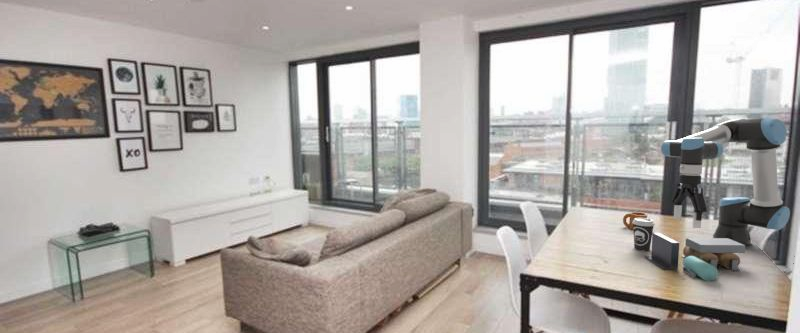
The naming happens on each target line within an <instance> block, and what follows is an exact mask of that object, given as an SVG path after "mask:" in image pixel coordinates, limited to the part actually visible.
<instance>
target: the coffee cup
mask: <svg viewBox="0 0 800 333" xmlns="http://www.w3.org/2000/svg"><path fill="white" fill-rule="evenodd" d="M632 223H633V229H634V230H633V229H632V230H633V246H634V249H635V250H637V251H639V252H640V251H641V252H649V251H650V250H651V246H652V233H654V232H653V231H654V227H655V225H656V224H655V221H654V220H653V219H651V218H648V217H647V218H634V220H633V222H632Z"/></svg>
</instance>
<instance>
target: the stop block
mask: <svg viewBox="0 0 800 333" xmlns="http://www.w3.org/2000/svg"><path fill="white" fill-rule="evenodd" d="M679 255H680V242H679V241H676V240H674V239H673V238H671V237H669V236H667V235H665V234H663V233H660V232H652V239H651V255H644V257H643V258H644V259H646V260H647V261H649V262H650V263H652V264H653V265H655V266H656V267H658V268H659V269H661V270H662V271H665V270H666V271H678V268H679V258H680V257H679Z"/></svg>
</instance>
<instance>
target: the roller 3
mask: <svg viewBox="0 0 800 333" xmlns="http://www.w3.org/2000/svg"><path fill="white" fill-rule="evenodd" d="M713 254H715V255H716V256H717V257H718V259H719V263H718V265H719V266H722V267H725V269H730V259H738V260H739V263H738V266H740V264H741V258H740V256H739V255H737V253H713Z"/></svg>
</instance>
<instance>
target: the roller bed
mask: <svg viewBox="0 0 800 333" xmlns="http://www.w3.org/2000/svg"><path fill="white" fill-rule="evenodd" d="M681 258H683V259H685V258H686V256H685V255H681ZM738 263H739V260H738V259H730V269H728V268H718V267H717V266H718V265H717V259H709V264H710V265H712V266H714V267H716V268H717V270H718V272H741V269H739V265H738ZM682 272H683V273H685V274H686V275H687V276H689V277H691V278H692V279H697V275H696V273H694V272H692V271H691V270H689V269H687V268H686V267H684V266H683V267H682Z"/></svg>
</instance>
